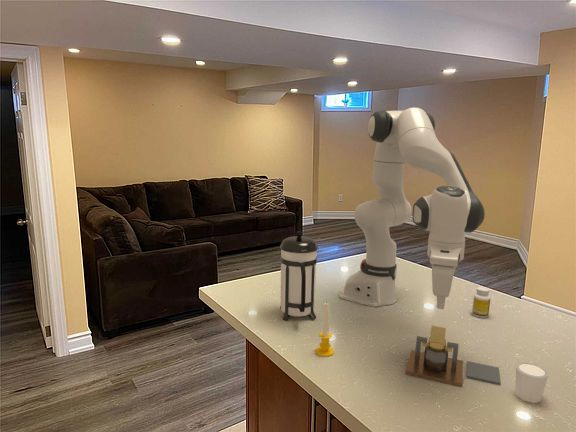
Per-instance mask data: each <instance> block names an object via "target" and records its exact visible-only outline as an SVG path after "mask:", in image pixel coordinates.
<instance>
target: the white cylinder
mask: <svg viewBox="0 0 576 432" xmlns="http://www.w3.org/2000/svg"><path fill="white" fill-rule="evenodd" d="M548 377H549V373H548V371H547V370H546V369H545V368H543V367H542V366H539V365H537V364H535V363H530V362H519V363H517V364H516V365H515V395H516V396H517V397H518V398H520V399H521V400H523V401H524V402H528V403H534V404H536V403H540V402H542V400H543V396H544V395H543V394H544V392H545V388H546V384H547V381H548Z"/></svg>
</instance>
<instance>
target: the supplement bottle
mask: <svg viewBox="0 0 576 432" xmlns="http://www.w3.org/2000/svg"><path fill="white" fill-rule="evenodd" d="M489 294H490V289H489V288H488V287H484V286H478V287H476V292H475V293H474V295H473V298H472V299H473V300H472V309H471V314H472V315H473V316H474V317H476V318H481V319H486V318H489V314H490V305H491V295H489Z"/></svg>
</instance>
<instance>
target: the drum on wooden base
mask: <svg viewBox="0 0 576 432" xmlns="http://www.w3.org/2000/svg"><path fill="white" fill-rule="evenodd" d="M422 342H425V343H427V342H429V337H426V336H425V337H424V336H419V335H417V336H416V340H415V350H413V349H411V350H410V352H409V357H408V361H407V363H406V367H405V375H408V376H413V377H416V378H421V379H424V380H425V379H426V380H430V381H434V382H439V383H443V384H447V385H451V386H455V387H460V388H462V387H463V379H464V378H463V377H464V360H462V359H458V355H459V344H460V343H456V342H450V341H446V346H447V347H450V348H452V356H451V357H449V352H447V351H445V352H442V353H437V352H433V351H431V350H429V348H427V347H424V352H423V351H421V349H422Z"/></svg>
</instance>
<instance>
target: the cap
mask: <svg viewBox="0 0 576 432" xmlns="http://www.w3.org/2000/svg"><path fill="white" fill-rule="evenodd" d="M446 330H447V327H442V326H437V325H431V327H430V332H429V333H430V335H429V337H428V341H427V343H425V342H421V348H425V347H427V348H429V350H431V351H433V352H437V353H442V352H445V351H447V352H448V353H453V348H450V347H447V340H446V332H447V331H446Z"/></svg>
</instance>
